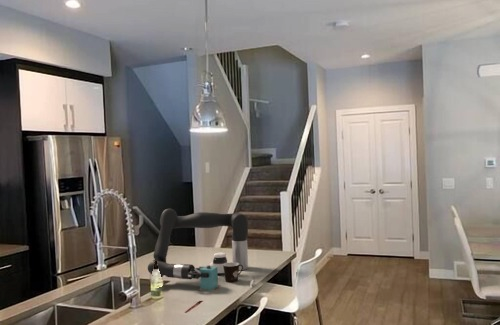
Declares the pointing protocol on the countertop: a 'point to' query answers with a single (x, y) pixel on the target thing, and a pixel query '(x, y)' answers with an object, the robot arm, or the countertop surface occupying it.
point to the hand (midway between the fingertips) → (212, 273)
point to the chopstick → (194, 305)
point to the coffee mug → (231, 271)
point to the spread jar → (219, 262)
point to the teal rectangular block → (209, 278)
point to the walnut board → (210, 290)
